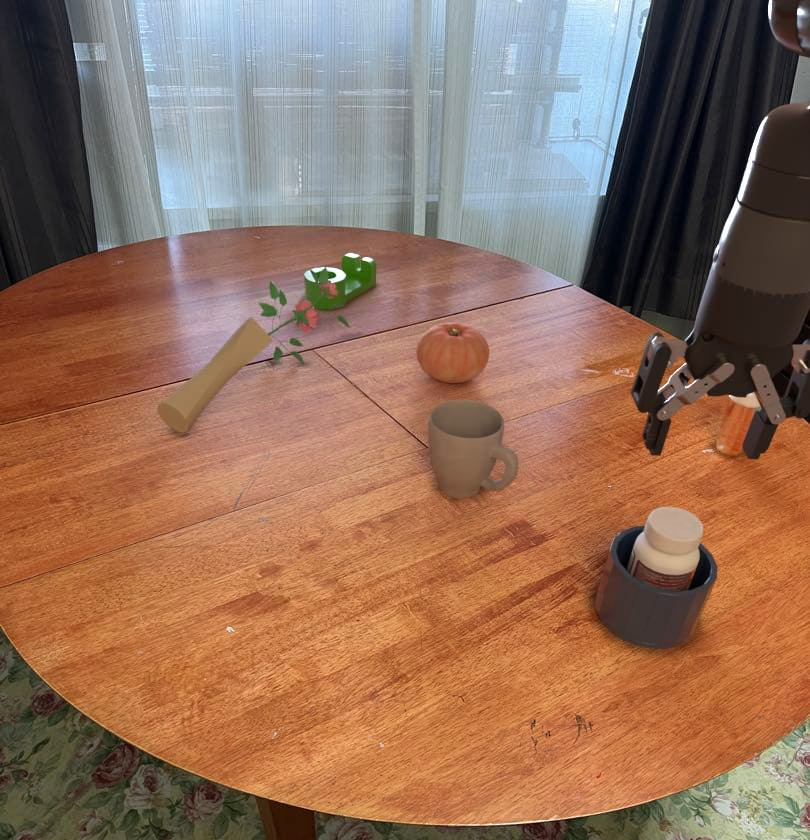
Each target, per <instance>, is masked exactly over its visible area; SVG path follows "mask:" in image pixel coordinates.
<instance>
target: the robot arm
mask: <svg viewBox="0 0 810 840" xmlns="http://www.w3.org/2000/svg"><path fill="white" fill-rule="evenodd" d="M768 23H769V27H770V30H771V33H772V35H773V36H774V38H775V39H776V41H777V42H778V43H779V44H780V45H781V46H782V47H783V48H784V49H785V50H787V51H789V52H791V53H793V54H794V55H797V56H799V57H803V58H808V59H810V0H769V1H768ZM720 234H721V235H720V238H719V241H718V244H717V246H716V247H715V249H714V252H713V257H712V259H713V261H712V264H711V267H710V270H709V274H708V277H707V280H706V284H705V287H704V291H703V293H702V297H701V300H700V303H699V306H698V310H697V313H696V317H695V322H694V326H693V329H692V331H691V332H690V334H689V335H688V336H687V337H686V338H685V340H680V339H671V338H665V336H664V335H663V333H662V332H659V331H658V332H654V333H652V334H650V336H649V337H648V340H647V342H646V345H645V348H644V352H643V355H642V358H641V361H640V363H639V367H638V369H637V373H636V374H635V375H636V376H635V378H634V381H633V384H632V387H631V391H630V395H631V397H632V400H633V402H634V404H635V407H636V409H637V411H638V412H639V413H642V414H646V413H647V414H648V415H647V417H646V420H645V424H644V428H643V431H642V433H641V434H642V435H641V436H642V441H643V444H644V447H645V449H646V450H648V452H649V454H650V456H652V457H656V456H657V457H659V456H661V455H662V453H663V451H664V450H663V449H664V447H665V443H666V440H667V437H668V433H669V431H670V426H671V424H672V420H671V418H672V417H673V416H674V415H675V414H676V413H678V412H679V411H680V410H681V409H682V408H683V407H685V406H691V405H693V404H694V403H696V402H697V401H698V400H700V398H702V397H703V396H704V395H705V394H707V396H708V397H724V396H729V395H731V396H734V397H744V398H746V396H747V395H748V394H751V393H753V392H754V393H755V395H756V398H757V400H758V402H759V404H760V407H761V410H760V411H755V413H754V416H753V418H752V421H751V423H750V426H749V429H748V431H747V434H746V436H745V439H744V441H743V445H742V451H743V452H744V454H745V456H746V458H747V459H748V460H759V459H760V456H761V455H762V454H765V453H766V452H767V451H768V450H769V448H770V445H771V443H772V441H773V438H774V436H775V434H776V431H777V429H778V427H779V424H782V423H783V422H784V421H785V420H787V419H791V418H793V417H795V418H796V419H805V418H806V417H808V416H809V415H810V338H808V339H806V340H805V341H803V342H802V344H794V342H795V340H796V339H798V337H799V334H800V333H801V330H802V327H803V325H804V322H805V320H806V317H807V315H808V312H809V310H810V102H794V103H786V104H783V105H780V106H777V107H776V108H774V109H772V110H770V111H769V112H768V113H767V114H766V115H765V117H764V118H763V120H762V121H761V123H760V125H759V128H758V130H757V132H756V134H755V137H754V140H753V143H752V146H751V150H750V153H749V157H748V160H747V164H746V166H745V170H744V173H743V176H742V180H741V183H740V185H739V190H738V192H737V195H736V197H735V201H734V204H733V206H732V209H731V211H730V213H729V214H728V217H727V219H726V221H725V224H724V226H723V229H722V232H721V233H720ZM682 357H683V359H684V361H685V363H684V364H683V365H681V366H680V367H679V368H678V369H677V370H676V371H675V372H673V373H672V374H671V375H670V377H669V378H668V381H667V383H666V384H664V385H663V386H662V387H661V384H662V381H663V379H664V376H665V372H666V370H667V369H671V368H673V365H674V364H675V362H676V361H677V360H678V359H679V358H682ZM789 364H791V367H793V369H792V373H791V376H790V379H789V382H788V384H787V387H786V390H785V393H784V396H781V397H780V396H779V394H778V392H777V389H776V388H775V385H774V382H773V380H772V379H773V378H775V376H776V375H778V374H779V373H781V372H782V370H784V369H785V368H786V367H787V366H789ZM691 379H693V380H694V381H693V382H692V383H691V384H689V382H690V380H691Z"/></svg>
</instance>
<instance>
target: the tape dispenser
mask: <svg viewBox="0 0 810 840" xmlns="http://www.w3.org/2000/svg"><path fill="white" fill-rule="evenodd" d="M324 268H325V266H322V267H321V266H320V267H314V268H310V269H307V270H306V271H305V272H304V297H305V298H304V300H306V301H309V302H311V305H313V304H314V303H315V302H316V301H317V300H318V299H319V294H320V297H321V296H322V295H323V294H322V293H321V291H320V289H319V288H320V286H319V285H321V283H320V282H319V281H318V283H317V285H316V282H315V280H314V278H313V276H312V274H311V271H310V270H312V271H314V272H315V273H316V274H317V276H318V279H319V276H320V273H321V271H322V270H323V269H324ZM326 268H327V271H328V280H330V281H331V283H333V282H334V284H335V285H336V287H337V288H335V290H337V291H338V293H337V296H336V295H332V296H333V298H331V299H329V297H325V298H324V296H323V297H322V298H321V299H320V300H319V301H318V302H317V303H316V304H315V305H314V306H313V307H314V308H316V310H317V309H318V310H333V309H332V305H333V304H343V305H345V304H347V303H348V302H349V301H352V300H353V299H354V298H356V297H358V296H360V295H361V294H363V293H365V292H367V291H368V290H369V289H372V288H373V287H374V286H376V285H377V262H376V261H375V260H374V259H373V258H371V257H367V256H365V257H363V258H362V259H361V255H360V254H357V253H353V252H349V253H347V254H345V255H343V256H342V257H341V269H338V268H336V267H329V266H326ZM317 286H318V288H317ZM318 289H319V290H318Z"/></svg>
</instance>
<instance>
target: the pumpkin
mask: <svg viewBox="0 0 810 840" xmlns="http://www.w3.org/2000/svg"><path fill="white" fill-rule="evenodd" d="M416 357H417V361H418V363H419V365H420V367H421V369H422V370H423V371H424V372H425V373H426V374H427V375H428V376H430V377H431V378H433V379H435V380H437V381H440V382H442V383H446V384H447V383H448V384H458V383H460V384H461V383H464V382H468V381H471V380H473V379H475V378H477V377H478V376H479V375H480V374H481V373H482V372H483V371H484V370H485V368H486V367H487V364H488V362H489V358H490V347H489V343H488V341H487V340H486V338H485V337H484V335H483V334H482V333H481V331H480V330H478V329H476V328H475V327H474V326H471V325H468V324H464V323H461V322H443V323H439V324H435V325H433V326H432V327H430V328H429V329H427V330H426V331H424V333H423V334H422V335H421V337H420V339H419V340H418V343H417V347H416Z"/></svg>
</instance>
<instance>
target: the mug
mask: <svg viewBox="0 0 810 840" xmlns="http://www.w3.org/2000/svg"><path fill="white" fill-rule="evenodd" d="M427 426H428V427H427V428H428V429H427V446H428V455H429V461H430V465H431V468H432V472H433V474H434V477H435V478H436V481H437V485H438V488H439V490H440V491H441V492H442V493H443V494H445V495H447V496H449V497H453V498H457V499H467V498H471V497H473V496H476V495H477V494H478V493H479V492H480V491H481V489H482V488H484V489H486V490H492V491H497V492H500V491H502V490H504V489H506V488H507V487H509V485H511V484H512V482H513V481H514V480H515V479H516V478H517V475H518V471H519V458H518V456H517V454H516V452H515V451H514V450H513V449H511V448H510V447H508V446H505V445H503V444H502V442H503V437H504V430H505V419H504V417H503V415H502V414H501V413H500V412H499V411H498V410H497V409H496V408H495V407H493V406H491V405H489V404H486V403H484V402H481V401H477V400H471V399H453V400H448V401H445V402H442V403H439V404H438V405H436V406H435V407H434V408H433V409H432V410H431V412H430V413H429V418H428V425H427ZM497 460H498V461H501V462H503V464H504V465H505V469H504V474H503V475H502V477H501V478H500V480H492V479H490V478H489V477H490V475H491V474H492V471H493V469H494V468H495V465H496V463H497Z"/></svg>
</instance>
